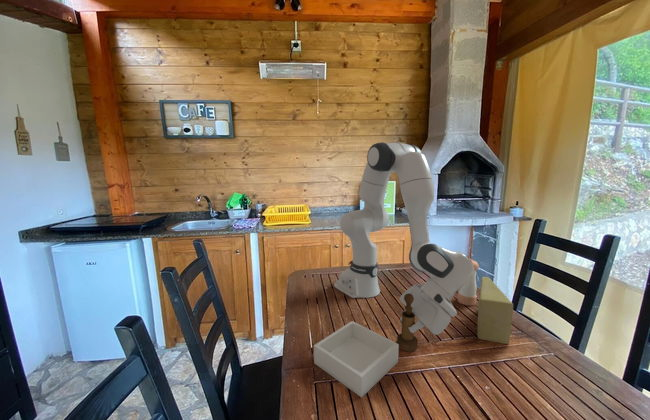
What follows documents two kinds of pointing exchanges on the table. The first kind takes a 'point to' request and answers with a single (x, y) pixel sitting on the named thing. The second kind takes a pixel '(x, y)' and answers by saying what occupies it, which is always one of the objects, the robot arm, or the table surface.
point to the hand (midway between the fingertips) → (406, 326)
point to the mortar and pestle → (408, 318)
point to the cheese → (494, 313)
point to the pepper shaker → (469, 289)
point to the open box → (356, 357)
